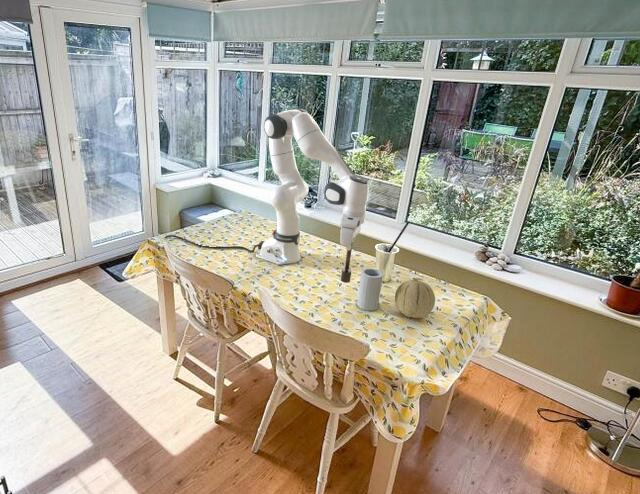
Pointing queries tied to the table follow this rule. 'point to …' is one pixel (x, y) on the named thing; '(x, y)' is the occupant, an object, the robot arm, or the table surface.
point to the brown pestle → (347, 268)
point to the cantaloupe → (414, 298)
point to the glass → (387, 257)
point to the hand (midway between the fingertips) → (349, 248)
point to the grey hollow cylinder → (369, 289)
